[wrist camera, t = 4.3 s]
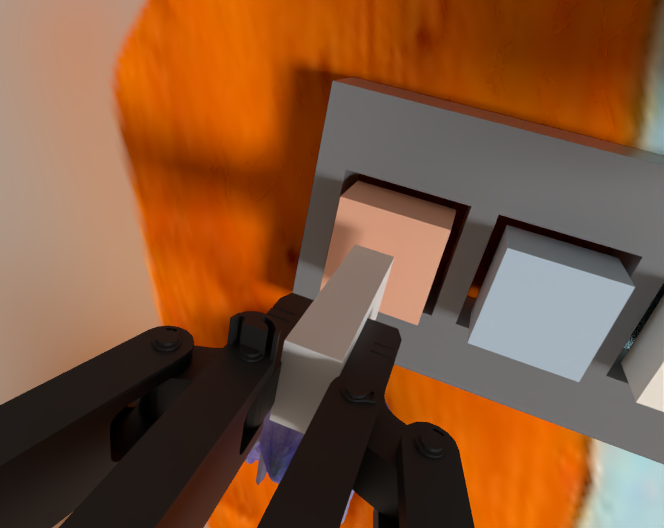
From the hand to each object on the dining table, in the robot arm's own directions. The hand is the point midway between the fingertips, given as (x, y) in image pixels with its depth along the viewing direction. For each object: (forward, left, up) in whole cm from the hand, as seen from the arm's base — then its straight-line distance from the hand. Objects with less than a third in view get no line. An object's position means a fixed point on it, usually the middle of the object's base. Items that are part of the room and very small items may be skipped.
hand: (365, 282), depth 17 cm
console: (0, +7, -7) cm, 9 cm away
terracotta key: (0, 0, -4) cm, 4 cm away
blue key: (0, +7, -4) cm, 8 cm away
